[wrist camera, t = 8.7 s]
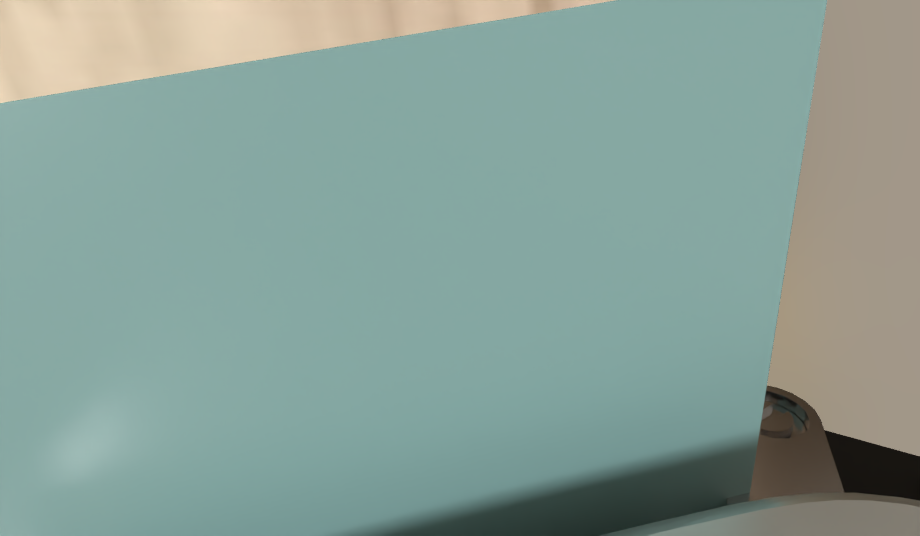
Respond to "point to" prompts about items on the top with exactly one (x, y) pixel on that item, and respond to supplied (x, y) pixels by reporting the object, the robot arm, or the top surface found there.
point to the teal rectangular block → (406, 280)
